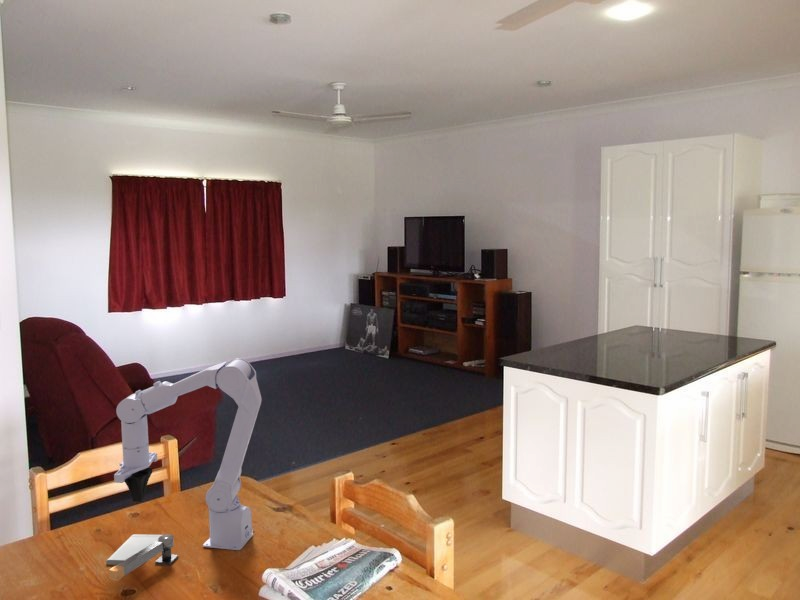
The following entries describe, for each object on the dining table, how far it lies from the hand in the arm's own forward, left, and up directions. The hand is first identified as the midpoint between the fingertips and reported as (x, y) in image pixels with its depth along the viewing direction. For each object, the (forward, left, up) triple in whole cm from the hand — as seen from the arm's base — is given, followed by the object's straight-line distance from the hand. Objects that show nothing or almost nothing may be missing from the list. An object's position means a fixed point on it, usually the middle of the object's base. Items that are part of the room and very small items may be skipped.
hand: (138, 500), depth 154 cm
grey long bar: (-10, +14, -7) cm, 18 cm away
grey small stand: (-11, +7, -10) cm, 17 cm away
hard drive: (-2, +4, -11) cm, 12 cm away
